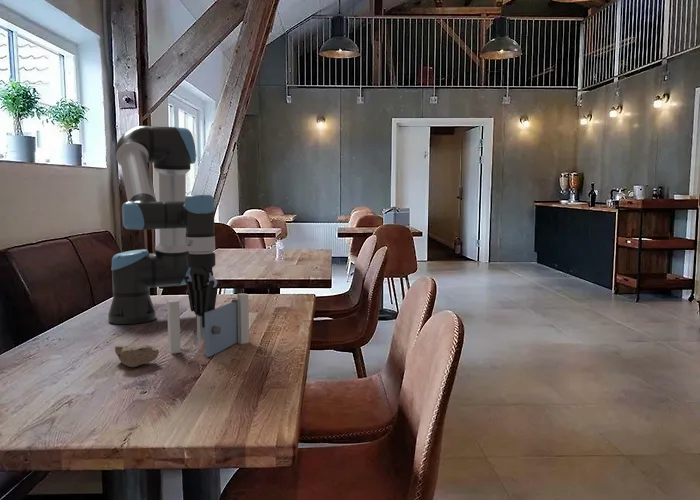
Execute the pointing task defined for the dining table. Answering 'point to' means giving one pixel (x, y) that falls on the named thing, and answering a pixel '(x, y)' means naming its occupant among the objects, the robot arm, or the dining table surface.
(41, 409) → the dining table surface
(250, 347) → the dining table surface
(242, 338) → the pair of grey bars
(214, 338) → the door
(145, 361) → the stone
